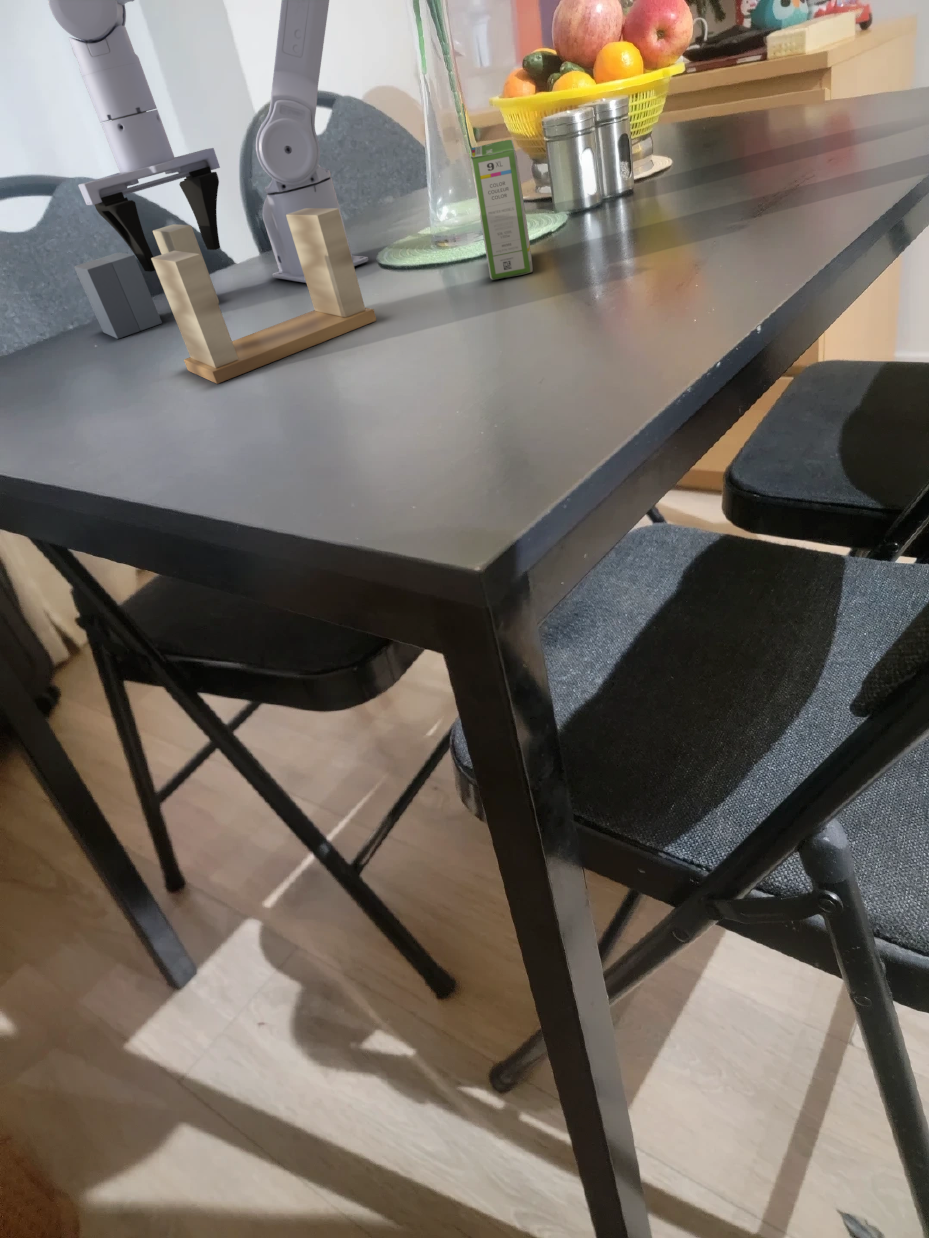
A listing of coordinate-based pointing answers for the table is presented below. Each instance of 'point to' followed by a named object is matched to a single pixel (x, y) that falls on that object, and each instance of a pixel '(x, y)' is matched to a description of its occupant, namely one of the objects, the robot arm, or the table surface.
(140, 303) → the grey books
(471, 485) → the table surface
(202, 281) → the book rack
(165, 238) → the cream book
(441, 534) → the table surface
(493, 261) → the ink box
